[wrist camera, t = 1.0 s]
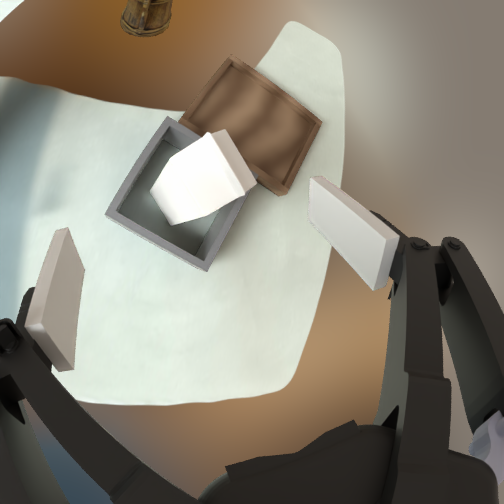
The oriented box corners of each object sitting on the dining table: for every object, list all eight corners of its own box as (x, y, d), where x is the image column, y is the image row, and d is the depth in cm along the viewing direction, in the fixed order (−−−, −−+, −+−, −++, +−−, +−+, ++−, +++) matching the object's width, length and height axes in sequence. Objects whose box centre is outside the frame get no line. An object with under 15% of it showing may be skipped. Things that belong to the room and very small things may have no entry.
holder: (106, 217, 40) (104, 214, 34) (161, 130, 42) (167, 115, 37) (196, 268, 45) (207, 271, 40) (242, 182, 48) (258, 175, 42)
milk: (170, 226, 44) (215, 216, 23) (149, 190, 42) (174, 148, 22) (204, 204, 45) (274, 178, 25) (184, 169, 44) (237, 116, 24)
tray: (174, 128, 43) (177, 122, 41) (226, 61, 46) (231, 54, 43) (278, 196, 50) (286, 194, 48) (314, 125, 53) (322, 121, 51)
